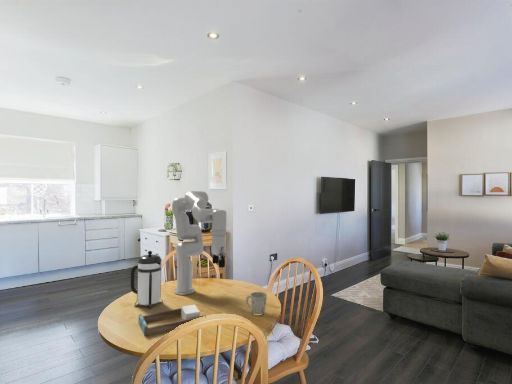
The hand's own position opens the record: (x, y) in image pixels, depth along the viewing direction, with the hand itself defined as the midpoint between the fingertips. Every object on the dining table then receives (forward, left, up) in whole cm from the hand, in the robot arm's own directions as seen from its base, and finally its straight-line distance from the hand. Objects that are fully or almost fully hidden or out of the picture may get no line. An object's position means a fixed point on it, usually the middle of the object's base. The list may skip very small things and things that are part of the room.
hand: (218, 265), depth 152 cm
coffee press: (-29, -30, -25) cm, 49 cm away
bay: (+1, -24, -25) cm, 35 cm away
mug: (+11, +17, -25) cm, 32 cm away
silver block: (+1, -15, -25) cm, 29 cm away
